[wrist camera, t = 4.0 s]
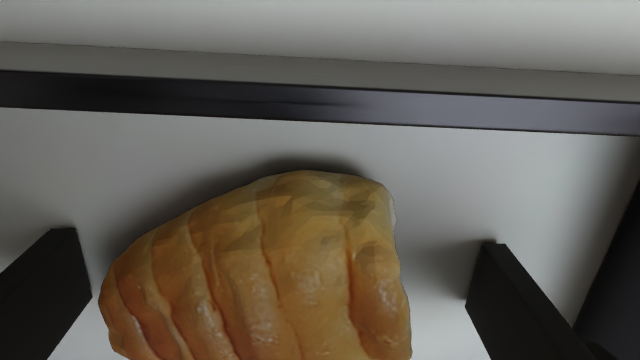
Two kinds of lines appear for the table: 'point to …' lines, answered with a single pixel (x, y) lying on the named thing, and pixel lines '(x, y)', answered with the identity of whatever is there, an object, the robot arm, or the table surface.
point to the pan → (356, 117)
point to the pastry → (266, 277)
